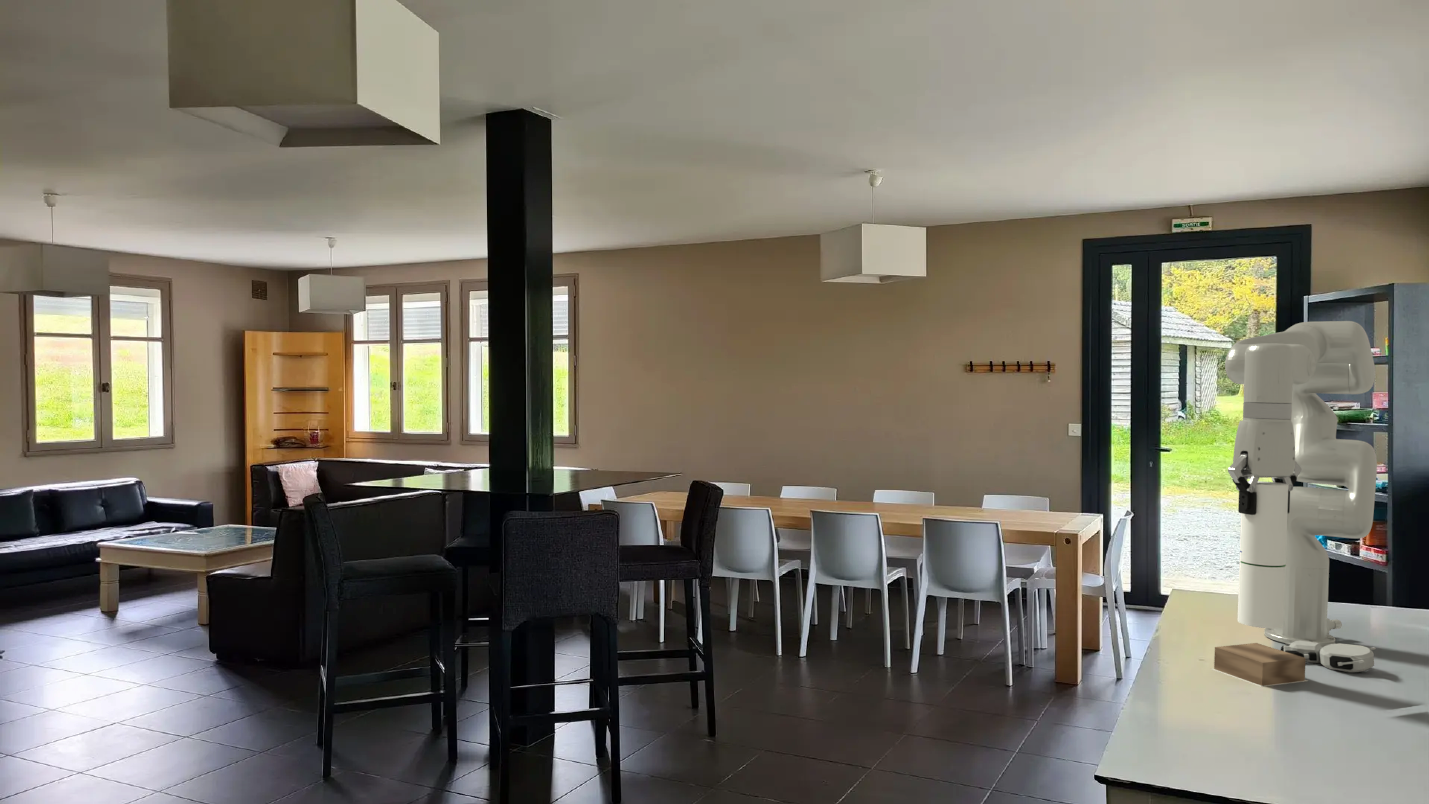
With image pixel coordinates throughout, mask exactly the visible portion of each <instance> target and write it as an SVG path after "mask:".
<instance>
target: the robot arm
mask: <svg viewBox="0 0 1429 804" xmlns="http://www.w3.org/2000/svg"><path fill="white" fill-rule="evenodd" d="M1225 357H1226V358H1225V363H1224V367H1225V369H1224V370H1225V373H1226V376H1227V378H1228V379H1229V380H1230V382H1232V383H1234V384H1237V385H1243V403H1242V405H1243V408H1242V420H1239V423H1238V426H1237V429H1236V435H1235V439H1234V448H1233V458H1232V463H1231V465H1230V466H1229V467H1228V468H1227V473H1228V474H1229V475H1230V477H1231V479H1232V482H1233V484H1234V485H1235V489H1236V490H1237V491H1238V509H1237V511H1238V513H1240V514H1241V513H1243V514H1249V515H1255V514H1256V505H1257V492H1253V491H1254V489H1255V487H1256V484H1257V482H1258V481H1259V480H1260V478H1261V479H1262V478H1265V479H1266V478H1268V479H1269V478H1271V480H1272V481H1271V482H1276V483H1284V484H1288V510H1287V540H1286V569H1285V599H1284V626H1283V627H1282V628H1277V629H1270V628H1264V631H1263V632H1264V636H1265V637H1267V638H1268V639H1270V640H1272V641H1273V640H1274V641H1276V642H1279V643H1282V644H1286V643H1293V642H1295V641H1307V642H1314V643H1319V644H1320V645H1321V646H1322V648H1323V647H1324V646H1326V645H1330V644H1336V639H1337V638H1336V637H1335V636H1333V635H1331V634H1330V631H1331V630H1338V629H1342V627H1343V624H1342V621H1341V620H1340V619H1337V618H1336V619H1330V618H1328V609H1329V608H1328V607H1329V606H1328V605H1329V578H1330V574H1329V573H1330V558H1329V554H1328V552H1327V550H1326V549H1325V547H1324V546H1323V544H1322V543H1321V542H1320V541H1319V540H1318V538H1317V537H1316V536H1319V537H1320V536H1324V537H1325V536H1326V537H1336V538H1343V539H1344V538H1345V539H1363V538H1365V537H1367V536H1368V535H1369V534H1370V532H1371V529H1372V527H1373V522H1374V514H1375V513H1374V510H1375V501H1376V488H1377V487H1376V486H1377V473H1378V459H1377V454H1376V451H1375V449H1374V447H1373V446H1372V445H1371V444H1370V443H1368V442H1367V441H1363V440H1358V439H1344V438H1343V439H1342V438H1341V439H1340V438H1337V426H1338V417H1337V415H1336V413H1335V412H1334V411H1333V409H1332V408H1331V407H1330V406H1329V405H1328V404H1327V402H1325V401H1324V400H1323V399H1322V398H1321V397H1320V396H1319V395H1318V394H1324V395H1325V394H1331V395H1333V394H1334V395H1335V394H1336V395H1362V394H1365V393H1367V392H1369V391H1370V390H1371V389H1372V388H1373V386H1374V383H1375V380H1376V367H1375V361H1374V357H1373V351H1372V347H1371V344H1370V340H1369V336H1368V334H1367V332H1366V331H1365V329H1364V327H1363V326H1362V325H1361V324H1360V323H1358V322H1356V321H1352V320H1339V321H1337V320H1332V321H1330V320H1328V321H1326V320H1325V321H1324V320H1323V321H1304V322H1299V323H1295V324H1293V325H1292V326H1290V327H1288V328H1287V329H1285V330H1284V331H1280V332H1274V333H1270V334H1265V335H1259V336H1253V337H1248V338H1244V339H1242V340H1239V341H1237V342H1236V343H1234V344H1233V345H1232V346H1231V348H1229V350H1228V352H1227V354H1226V356H1225ZM1248 480H1249V483H1248V482H1247V481H1248ZM1296 482H1301V483H1305V484H1306V483H1307V484H1308V483H1309V484H1318V485H1329V486H1342V487H1343V486H1344V487H1346V489H1348V490H1344V489H1332V488H1324V487H1309V486H1308V487H1307V486H1294V485H1295V483H1296Z"/></svg>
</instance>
